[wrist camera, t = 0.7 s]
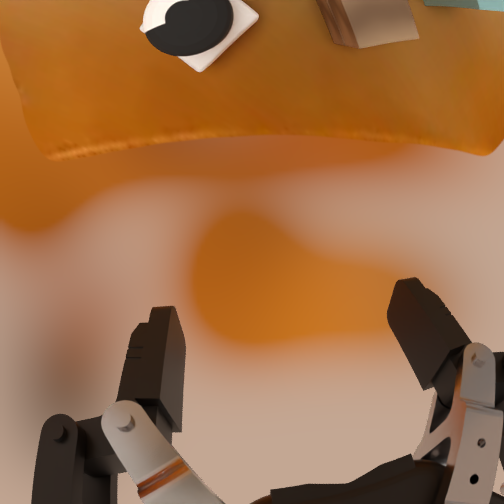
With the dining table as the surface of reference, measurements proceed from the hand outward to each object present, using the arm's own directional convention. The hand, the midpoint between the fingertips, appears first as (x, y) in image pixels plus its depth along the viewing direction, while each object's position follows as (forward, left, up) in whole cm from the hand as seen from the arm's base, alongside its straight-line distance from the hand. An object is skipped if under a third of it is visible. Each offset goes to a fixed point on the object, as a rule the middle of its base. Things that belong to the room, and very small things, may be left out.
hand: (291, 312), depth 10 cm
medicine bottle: (-11, -1, -26) cm, 29 cm away
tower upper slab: (-7, +13, -22) cm, 27 cm away
